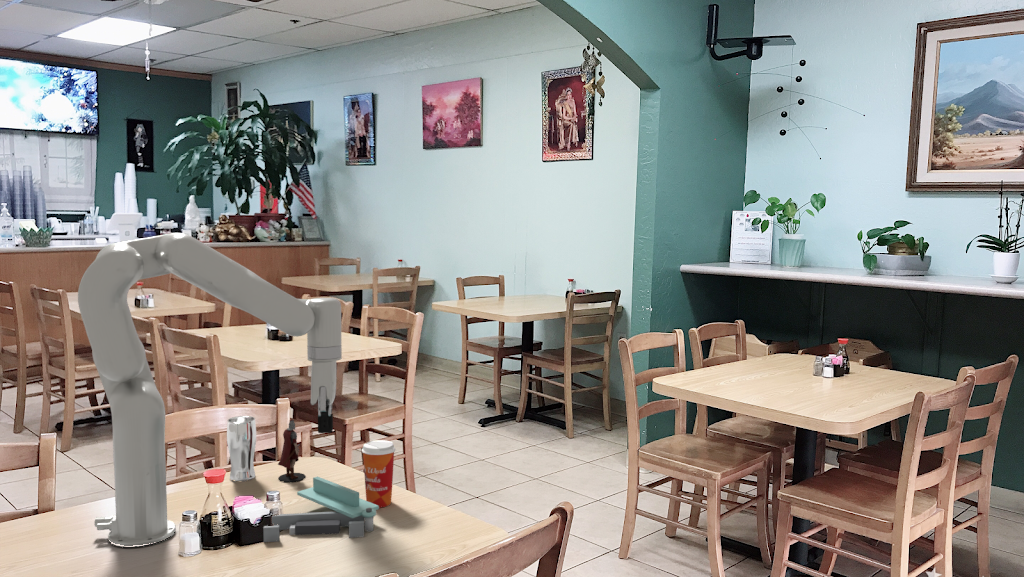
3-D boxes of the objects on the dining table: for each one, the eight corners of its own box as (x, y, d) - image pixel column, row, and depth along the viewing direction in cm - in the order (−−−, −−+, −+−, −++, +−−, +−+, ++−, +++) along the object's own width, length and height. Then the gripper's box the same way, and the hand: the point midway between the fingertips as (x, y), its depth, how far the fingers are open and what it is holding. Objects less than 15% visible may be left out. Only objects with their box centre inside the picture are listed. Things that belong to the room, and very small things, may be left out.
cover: (297, 494, 177) (296, 478, 177) (323, 486, 182) (322, 471, 182) (360, 521, 162) (360, 504, 162) (386, 511, 168) (386, 495, 167)
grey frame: (263, 542, 159) (263, 526, 159) (268, 528, 166) (268, 513, 166) (373, 536, 163) (373, 521, 163) (373, 523, 170) (373, 508, 170)
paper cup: (355, 505, 180) (354, 446, 178) (375, 495, 187) (375, 437, 185) (382, 512, 176) (382, 451, 175) (402, 501, 183) (402, 442, 182)
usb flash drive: (289, 535, 163) (289, 526, 163) (291, 530, 166) (291, 521, 165) (339, 534, 164) (339, 524, 164) (340, 529, 167) (340, 520, 166)
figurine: (310, 478, 198) (309, 420, 196) (283, 485, 193) (282, 425, 191) (297, 471, 202) (296, 414, 201) (271, 478, 197) (270, 419, 196)
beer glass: (222, 478, 197) (220, 420, 195) (245, 471, 202) (244, 414, 201) (239, 484, 193) (238, 424, 191) (262, 476, 198) (261, 418, 197)
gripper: (311, 347, 184) (312, 423, 186) (303, 359, 170) (304, 442, 171) (343, 346, 185) (344, 422, 187) (338, 358, 171) (339, 441, 173)
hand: (325, 431), depth 179 cm, fingers closed
